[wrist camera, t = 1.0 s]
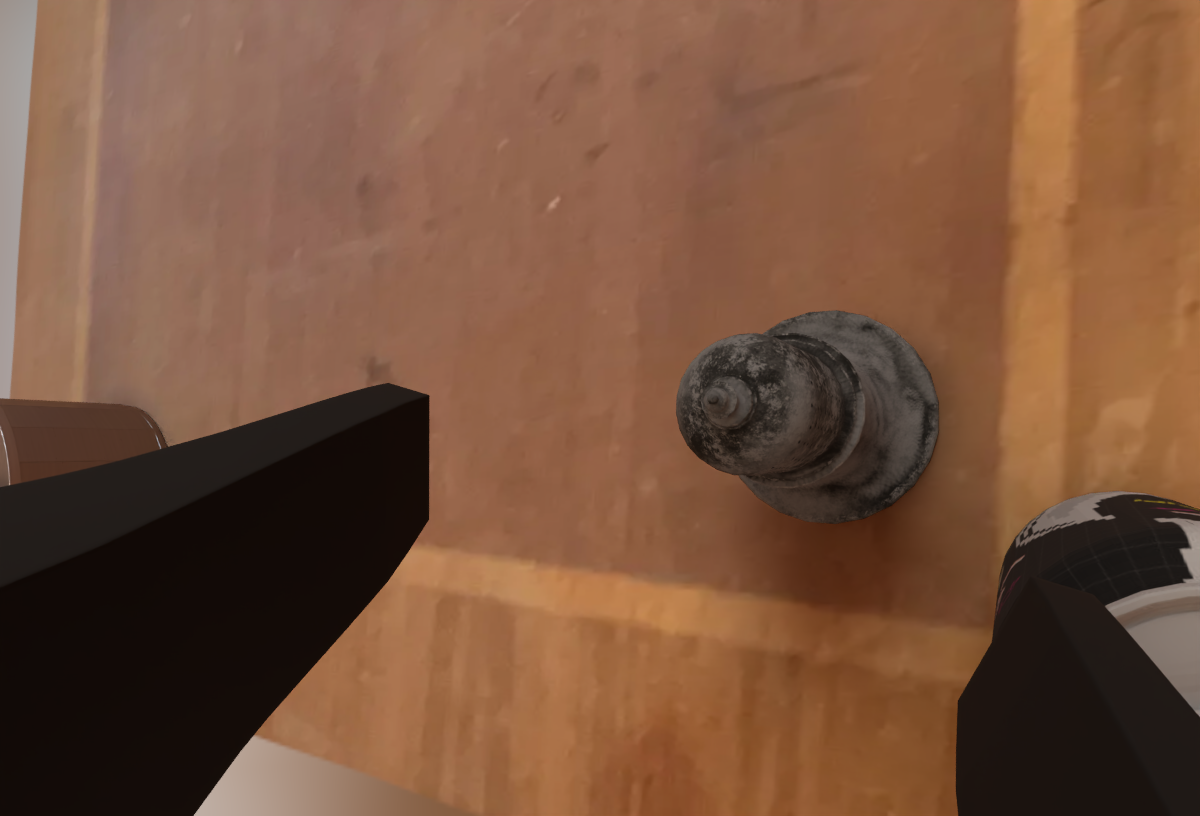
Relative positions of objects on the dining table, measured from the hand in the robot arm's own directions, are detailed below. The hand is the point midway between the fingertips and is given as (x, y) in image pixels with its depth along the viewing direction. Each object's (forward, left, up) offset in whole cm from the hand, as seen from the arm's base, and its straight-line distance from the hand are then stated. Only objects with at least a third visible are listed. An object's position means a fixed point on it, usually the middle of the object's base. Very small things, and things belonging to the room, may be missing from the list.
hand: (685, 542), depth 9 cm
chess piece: (+2, +1, -16) cm, 16 cm away
